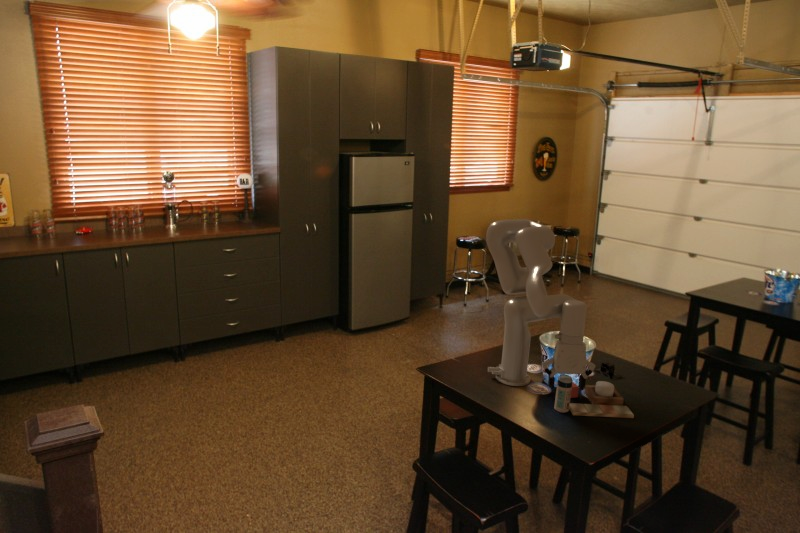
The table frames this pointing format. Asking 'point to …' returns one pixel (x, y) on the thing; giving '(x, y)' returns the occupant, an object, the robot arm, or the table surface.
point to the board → (600, 410)
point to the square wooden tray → (601, 399)
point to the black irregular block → (609, 371)
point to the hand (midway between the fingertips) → (566, 387)
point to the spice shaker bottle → (563, 393)
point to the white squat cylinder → (604, 389)
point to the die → (574, 390)
